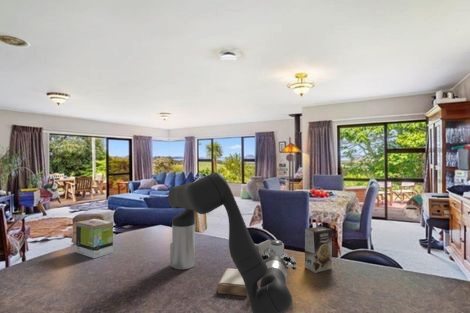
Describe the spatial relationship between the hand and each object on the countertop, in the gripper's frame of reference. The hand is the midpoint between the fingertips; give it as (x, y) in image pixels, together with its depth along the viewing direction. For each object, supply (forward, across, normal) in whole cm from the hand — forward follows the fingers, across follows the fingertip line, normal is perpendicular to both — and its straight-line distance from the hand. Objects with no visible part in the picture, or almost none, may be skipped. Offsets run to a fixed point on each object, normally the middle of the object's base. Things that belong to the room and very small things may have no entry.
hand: (276, 253), depth 102 cm
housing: (-3, 0, +8) cm, 8 cm away
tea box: (+11, +86, +11) cm, 87 cm away
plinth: (-8, +14, +10) cm, 19 cm away
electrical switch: (+14, +6, +10) cm, 18 cm away
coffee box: (+13, -16, +10) cm, 23 cm away
